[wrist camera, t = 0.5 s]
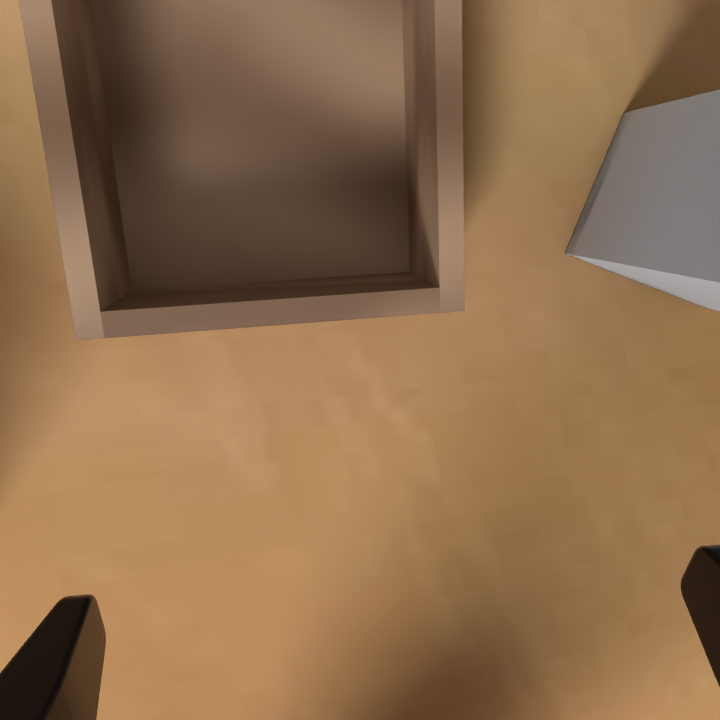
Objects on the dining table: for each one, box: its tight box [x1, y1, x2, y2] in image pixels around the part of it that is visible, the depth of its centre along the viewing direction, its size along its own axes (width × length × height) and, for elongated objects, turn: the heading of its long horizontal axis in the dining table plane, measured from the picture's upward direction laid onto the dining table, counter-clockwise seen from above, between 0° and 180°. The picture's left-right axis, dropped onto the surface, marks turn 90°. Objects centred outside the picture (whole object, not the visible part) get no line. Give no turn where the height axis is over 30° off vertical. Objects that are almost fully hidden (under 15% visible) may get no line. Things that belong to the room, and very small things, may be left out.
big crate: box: [19, 0, 465, 340], centre depth 18 cm, size 10×10×4 cm
